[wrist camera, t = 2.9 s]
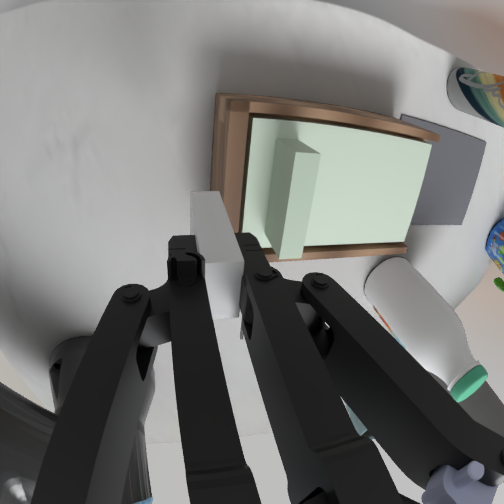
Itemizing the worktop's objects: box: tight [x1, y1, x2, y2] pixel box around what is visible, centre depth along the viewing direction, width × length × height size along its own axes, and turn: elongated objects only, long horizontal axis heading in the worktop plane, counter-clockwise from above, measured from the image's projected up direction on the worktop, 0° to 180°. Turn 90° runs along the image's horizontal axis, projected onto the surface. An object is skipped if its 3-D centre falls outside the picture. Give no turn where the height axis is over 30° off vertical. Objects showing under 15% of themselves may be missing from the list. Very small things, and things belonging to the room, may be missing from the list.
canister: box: [426, 370, 504, 437], centre depth 42 cm, size 13×13×35 cm
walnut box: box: [210, 93, 440, 262], centre depth 26 cm, size 18×12×7 cm, turn 84°
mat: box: [400, 115, 486, 225], centre depth 33 cm, size 17×13×1 cm
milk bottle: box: [365, 257, 488, 402], centre depth 32 cm, size 8×8×20 cm
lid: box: [238, 115, 432, 260], centre depth 22 cm, size 16×10×5 cm, turn 84°
